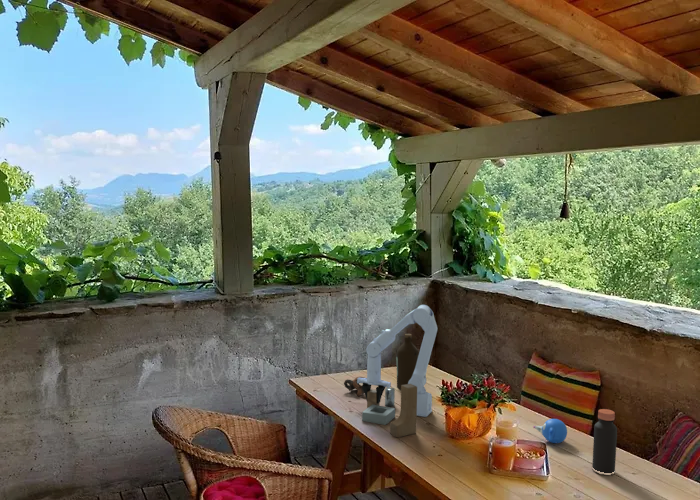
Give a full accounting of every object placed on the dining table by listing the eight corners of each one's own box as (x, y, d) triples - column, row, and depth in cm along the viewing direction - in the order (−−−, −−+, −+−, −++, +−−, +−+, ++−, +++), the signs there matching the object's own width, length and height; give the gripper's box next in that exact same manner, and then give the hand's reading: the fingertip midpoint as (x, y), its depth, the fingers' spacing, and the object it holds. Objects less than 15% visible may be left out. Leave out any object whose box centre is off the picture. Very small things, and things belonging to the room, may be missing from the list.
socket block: (394, 416, 242) (395, 408, 242) (385, 425, 233) (385, 416, 233) (372, 412, 246) (372, 404, 246) (362, 420, 237) (362, 412, 237)
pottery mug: (367, 389, 278) (372, 377, 273) (366, 405, 270) (371, 392, 265) (342, 383, 277) (346, 370, 273) (340, 398, 269) (345, 385, 265)
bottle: (595, 465, 200) (598, 406, 199) (617, 471, 196) (620, 411, 194) (589, 471, 195) (592, 411, 193) (611, 478, 191) (614, 416, 189)
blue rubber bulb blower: (535, 432, 228) (536, 410, 227) (569, 438, 222) (570, 416, 222) (529, 443, 217) (530, 420, 217) (563, 450, 212) (564, 427, 211)
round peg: (395, 404, 257) (396, 388, 256) (392, 407, 253) (392, 391, 253) (387, 403, 259) (387, 387, 258) (383, 405, 255) (383, 389, 254)
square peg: (379, 406, 254) (379, 390, 253) (375, 409, 250) (376, 393, 249) (370, 405, 255) (371, 389, 255) (367, 408, 252) (367, 391, 251)
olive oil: (420, 385, 284) (422, 333, 282) (415, 391, 274) (416, 337, 272) (399, 382, 288) (400, 331, 286) (392, 389, 278) (394, 335, 276)
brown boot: (396, 438, 221) (397, 389, 219) (389, 433, 224) (390, 386, 223) (416, 433, 225) (417, 386, 224) (409, 429, 229) (410, 383, 227)
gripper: (354, 370, 251) (353, 402, 252) (386, 374, 245) (385, 407, 246) (361, 366, 257) (360, 397, 258) (392, 370, 251) (392, 402, 252)
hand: (373, 401), depth 252 cm, fingers closed on square peg, 4 cm apart
